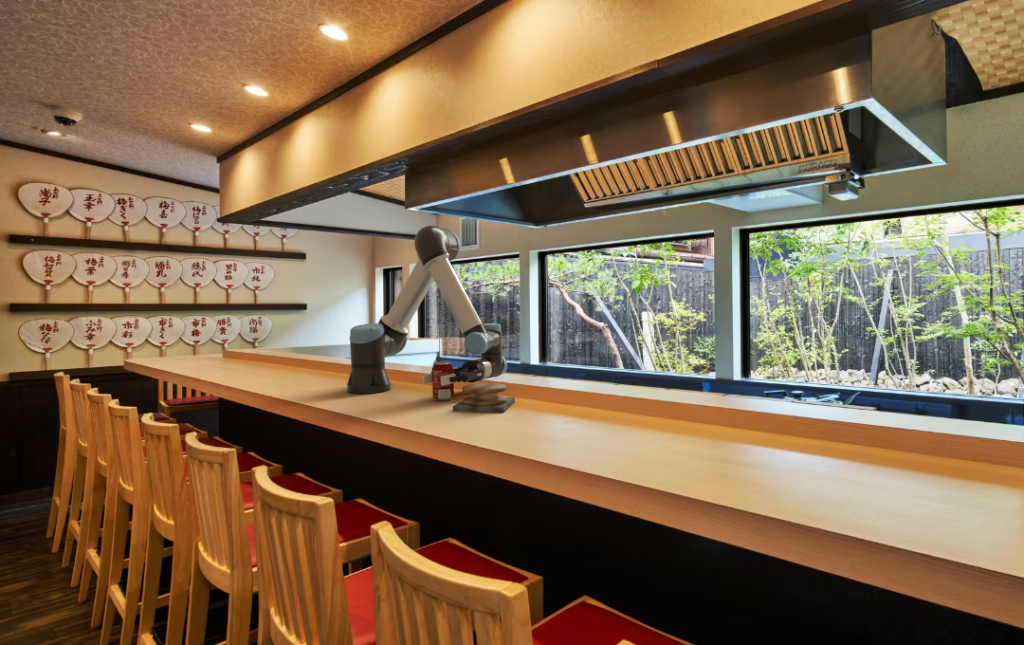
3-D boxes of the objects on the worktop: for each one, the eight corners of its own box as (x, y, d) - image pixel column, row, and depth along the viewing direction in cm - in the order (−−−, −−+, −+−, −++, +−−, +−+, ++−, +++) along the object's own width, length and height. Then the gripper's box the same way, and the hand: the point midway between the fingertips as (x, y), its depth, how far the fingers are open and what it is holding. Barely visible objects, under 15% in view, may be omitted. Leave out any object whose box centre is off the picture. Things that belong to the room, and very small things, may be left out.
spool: (453, 411, 161) (452, 390, 161) (467, 401, 176) (467, 382, 175) (504, 412, 158) (503, 391, 158) (514, 402, 173) (514, 382, 172)
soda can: (452, 401, 175) (451, 363, 175) (431, 402, 176) (429, 364, 175) (455, 397, 182) (454, 360, 182) (434, 398, 182) (433, 361, 182)
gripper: (499, 383, 189) (458, 394, 169) (453, 379, 199) (409, 390, 180) (499, 360, 188) (457, 370, 169) (452, 358, 199) (408, 366, 179)
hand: (432, 380), depth 174 cm, fingers closed on soda can, 7 cm apart
